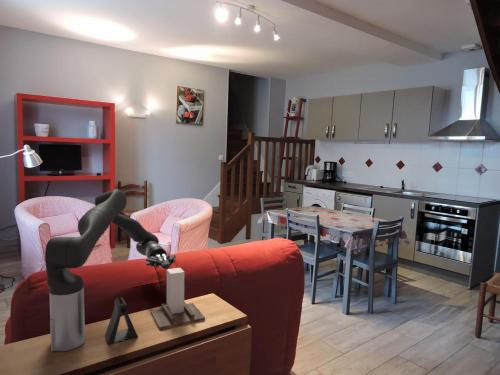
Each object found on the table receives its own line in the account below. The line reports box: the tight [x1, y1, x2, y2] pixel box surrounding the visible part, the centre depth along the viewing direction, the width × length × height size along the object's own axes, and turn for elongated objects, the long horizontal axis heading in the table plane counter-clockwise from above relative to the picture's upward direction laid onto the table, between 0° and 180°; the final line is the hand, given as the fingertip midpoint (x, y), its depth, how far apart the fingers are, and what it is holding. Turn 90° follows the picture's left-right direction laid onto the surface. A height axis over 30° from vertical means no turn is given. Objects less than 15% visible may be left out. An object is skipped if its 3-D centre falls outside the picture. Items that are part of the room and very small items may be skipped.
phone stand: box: [104, 296, 138, 346], centre depth 113 cm, size 9×6×12 cm, turn 120°
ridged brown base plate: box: [150, 301, 206, 331], centre depth 127 cm, size 16×13×3 cm
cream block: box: [166, 267, 185, 314], centre depth 129 cm, size 5×5×15 cm
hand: (166, 266), depth 138 cm, fingers closed
